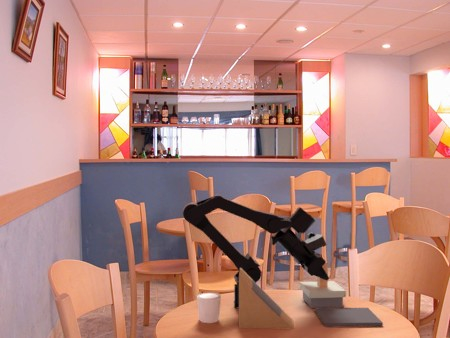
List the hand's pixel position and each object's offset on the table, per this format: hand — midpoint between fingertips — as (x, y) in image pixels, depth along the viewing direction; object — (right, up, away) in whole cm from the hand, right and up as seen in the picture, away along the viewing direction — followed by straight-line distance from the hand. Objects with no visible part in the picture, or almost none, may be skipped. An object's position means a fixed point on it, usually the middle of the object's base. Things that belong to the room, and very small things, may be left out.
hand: (326, 278), depth 156 cm
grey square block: (-1, -8, 0) cm, 8 cm away
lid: (-1, -5, 0) cm, 5 cm away
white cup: (-37, -9, -16) cm, 41 cm away
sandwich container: (-21, -9, -18) cm, 29 cm away
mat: (+3, -8, -15) cm, 17 cm away
